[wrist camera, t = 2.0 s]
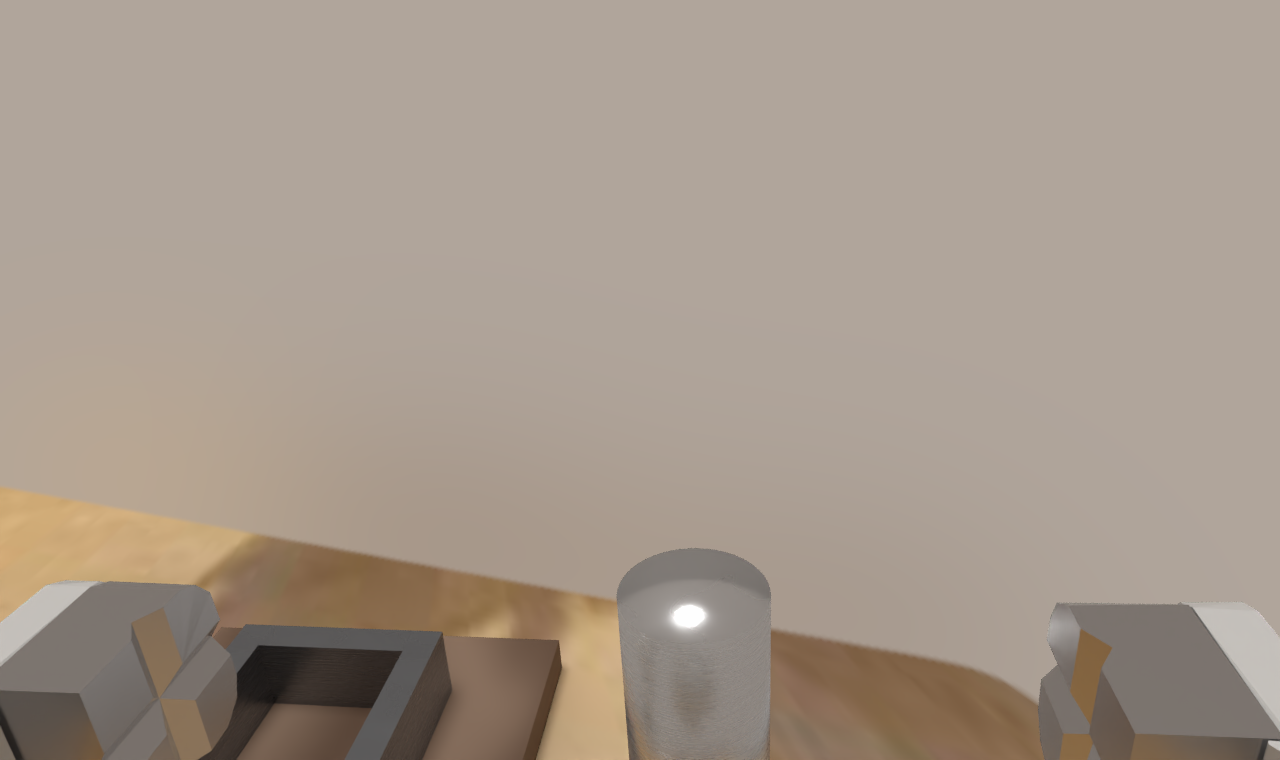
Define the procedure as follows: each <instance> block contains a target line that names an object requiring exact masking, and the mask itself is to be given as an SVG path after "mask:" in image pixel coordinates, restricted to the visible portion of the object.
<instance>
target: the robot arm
mask: <svg viewBox="0 0 1280 760" xmlns="http://www.w3.org/2000/svg"><path fill="white" fill-rule="evenodd" d="M219 620H220V618H219V616H218V613H217V610H216V608H215V605H214V602H213V599H212V597H211V594H210V592H208V591H206V590H204V589H202V588H200V587H198V586H196V585H180V584H157V583H134V582H111V581H109V582H100V581H67V580H65V581H61V582H57V583H53V584H49V585H46V586H44V587H43V588H42V589H41V590H39V591H38V592H37V593H36V594H35V595H33V596H32V597H31V598H30V599H29V600H27V601H26V602H25V603H24V604H22V605H21V606H20V607H19V608H18V609H16V610H15V611H14V612H13V613H11V614H10V615H9V616H8V617H7V618H5V619H4V620H3V621H2V622H0V760H198V759H199V758H201V757H202V756H204V755H205V754H207V753H209V752H210V751H212V750H213V748H214V747H215V745H216V744H217V742H218V741H219V739H220V738H221V736H222V735H223V733H224V732H225V731H226V729H227V728H228V725H229V722H230V719H231V716H232V712H233V709H234V706H235V703H236V699H237V674H236V670H235V667H234V664H233V660H232V657H231V654H230V653H229V652H227V651H226V650H225V649H224V648H223V647H222V646H221V645H220V644H219V643H218V642H217V641H216V640H215V639H214V638H213V637H211V636H212V634H213V632H214V630H215V628H216V626H217V624H218V622H219ZM1047 641H1048V643H1049V646H1050V648H1051V650H1052V652H1053V655H1054V657H1055V659H1056V661H1057V664H1058V665H1057V666H1056V667H1055V668H1053V669H1052V670H1051V671H1050V672H1049V673H1048V674H1047V675H1046V676H1045V677H1044V678H1042V679H1041V688H1040V697H1039V706H1038V714H1039V728H1040V741H1041V746H1042V750H1043V754H1044V758H1045V760H1280V637H1279V636H1278V635H1277V633H1276V632H1275V631H1274V630H1273V629H1272V628H1271V626H1270V625H1269V624H1268V623H1267V622H1266V620H1265V619H1264V618H1263V617H1262V616H1261V614H1260V613H1259V612H1258V611H1257V610H1256V609H1255V608H1253V607H1251V606H1249V605H1247V604H1245V603H1243V602H1183V603H1181V602H1180V603H1179V604H1178V605H1173V604H1172V605H1169V604H1108V603H1107V604H1106V603H1103V604H1102V603H1057V604H1056V606H1055V608H1054V610H1053V613H1052V615H1051V618H1050V624H1049V630H1048V637H1047Z"/></svg>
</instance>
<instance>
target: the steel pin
mask: <svg viewBox="0 0 1280 760" xmlns="http://www.w3.org/2000/svg"><path fill="white" fill-rule="evenodd" d="M617 605H618V618H619V631H620V644H621V657H622V670H623V683H624V696H625V709H626V722H627V735H628V748H629V760H770V634H771V621H770V620H771V592H770V587H769V584H768V582H767V580H766V578H765V577H764V575H763V574H762V573H761V572H760V571H759V570H758V569H757V568H756V567H755V566H754V565H752V564H751V563H749V562H748V561H746V560H744V559H742V558H740V557H738V556H735V555H732V554H729V553H726V552H722V551H717V550H711V549H699V548H694V549H692V548H690V549H689V548H688V549H679V550H673V551H668V552H664V553H660V554H657V555H654V556H652V557H650V558H647V559H645V560H643V561H642V562H640V563H638V564H637V565H636V566H634V567H633V568H632V569H631V570H630V571H628V572H627V574H626V575H625V576H624V577H623V579H622V580H621V582H620V584H619V587H618V591H617Z"/></svg>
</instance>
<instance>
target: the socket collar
mask: <svg viewBox="0 0 1280 760" xmlns="http://www.w3.org/2000/svg"><path fill="white" fill-rule="evenodd" d="M226 651H227V652H229V653H230V654H231V657H232V660H233V664H234V667H235V670H236V674H237V699H236V703H235V706H234V709H233V712H232V716H231V719H230V722H229V725H228V728H227V729H226V731H225V732H224V733H223V735H222V736H221V738H220V739H219V741H218V742H217V744H216V745H215V747H214V748H213V750H212V751H210V752H209V753H207V754H205V755H204V756H202V757H201V758H199V759H198V760H237V758H238V757H239V755H240V754H241V752H242V751H243V749H244V748H245V746H246V745H247V743H248V742H249V740H250V739H251V737H252V736H253V734H254V733H255V731H256V730H257V728H258V727H259V726H260V724H261V723H262V721H263V720H264V718H265V717H266V715H267V714H268V712H269V711H270V709H271V708H272V706H273V705H274V703H276V704H296V705H316V706H336V707H356V708H372V709H371V711H370V713H369V715H368V717H367V718H366V720H365V722H364V724H363V726H362V728H361V730H360V732H359V733H358V735H357V737H356V739H355V741H354V743H353V745H352V746H351V748H350V750H349V752H348V754H347V756H346V758H345V760H422V759H423V757H424V755H425V752H426V750H427V748H428V746H429V743H430V741H431V739H432V736H433V734H434V732H435V729H436V727H437V725H438V722H439V720H440V718H441V716H442V713H443V711H444V709H445V706H446V704H447V702H448V699H449V697H450V695H451V692H452V685H451V679H450V673H449V668H448V662H447V656H446V651H445V645H444V639H443V633H442V632H433V631H406V630H380V629H353V628H327V627H300V626H274V625H247V624H246V625H245V626H244V627H243V629H242V630H241V631H240V632H239V633H238V635H237V636H236V637H235V638H234V640H233V641H232V642H231V643H230V645H229V646H228V647H227V648H226Z"/></svg>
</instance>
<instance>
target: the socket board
mask: <svg viewBox="0 0 1280 760" xmlns="http://www.w3.org/2000/svg"><path fill="white" fill-rule="evenodd" d="M242 629H243V628H223V627H221V629H220V630H219V631H218V632H217V633H216V635H215V636H214V637H213V638H214V639H215V640H216V641H217V642H218V643H219V644H220V645H221V646H222V647H223V648H224V649H225V650H226V648H227V647H228V646H229V645H230V643H231V642H232V641H233V640H234V638H235V637H236V636H237V635H238V633H239V632H240V631H241V630H242ZM443 639H444V645H445V651H446V656H447V662H448V668H449V673H450V679H451V685H452V692H451V695H450V697H449V699H448V702H447V704H446V706H445V709H444V711H443V713H442V716H441V718H440V720H439V722H438V725H437V727H436V729H435V732H434V734H433V736H432V739H431V741H430V743H429V746H428V748H427V750H426V752H425V755H424V757H423V759H422V760H535V759H536V755H537V752H538V748H539V745H540V741H541V738H542V734H543V731H544V727H545V724H546V720H547V717H548V713H549V710H550V706H551V703H552V699H553V696H554V692H555V689H556V685H557V682H558V678H559V675H560V672H561V668H562V665H561V656H560V647H559V640H536V639H510V638H484V637H458V636H443ZM371 709H372V708H356V707H336V706H316V705H296V704H276V703H274V705H273V706H272V708H271V709H270V711H269V712H268V714H267V715H266V717H265V718H264V720H263V721H262V723H261V724H260V726H259V727H258V728H257V730H256V731H255V733H254V734H253V736H252V737H251V739H250V740H249V742H248V743H247V745H246V746H245V748H244V749H243V751H242V752H241V754H240V755H239V757H238V758H237V760H345V758H346V756H347V754H348V752H349V750H350V748H351V746H352V745H353V743H354V741H355V739H356V737H357V735H358V733H359V732H360V730H361V728H362V726H363V724H364V722H365V720H366V718H367V717H368V715H369V713H370V711H371Z"/></svg>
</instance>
